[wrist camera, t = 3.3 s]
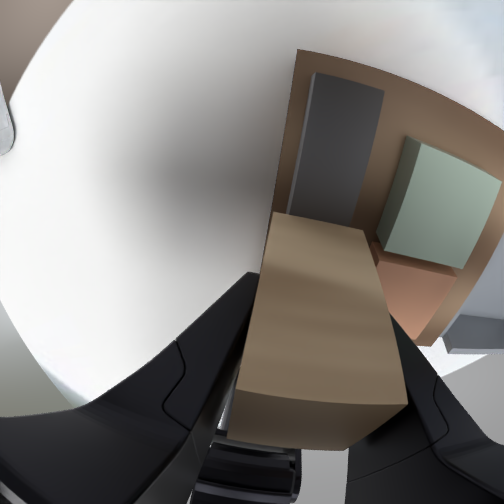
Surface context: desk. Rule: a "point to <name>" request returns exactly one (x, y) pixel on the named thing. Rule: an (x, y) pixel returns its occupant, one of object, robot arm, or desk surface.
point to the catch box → (481, 313)
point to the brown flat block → (389, 153)
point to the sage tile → (436, 205)
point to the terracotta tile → (411, 287)
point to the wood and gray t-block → (321, 295)
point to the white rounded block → (5, 126)
